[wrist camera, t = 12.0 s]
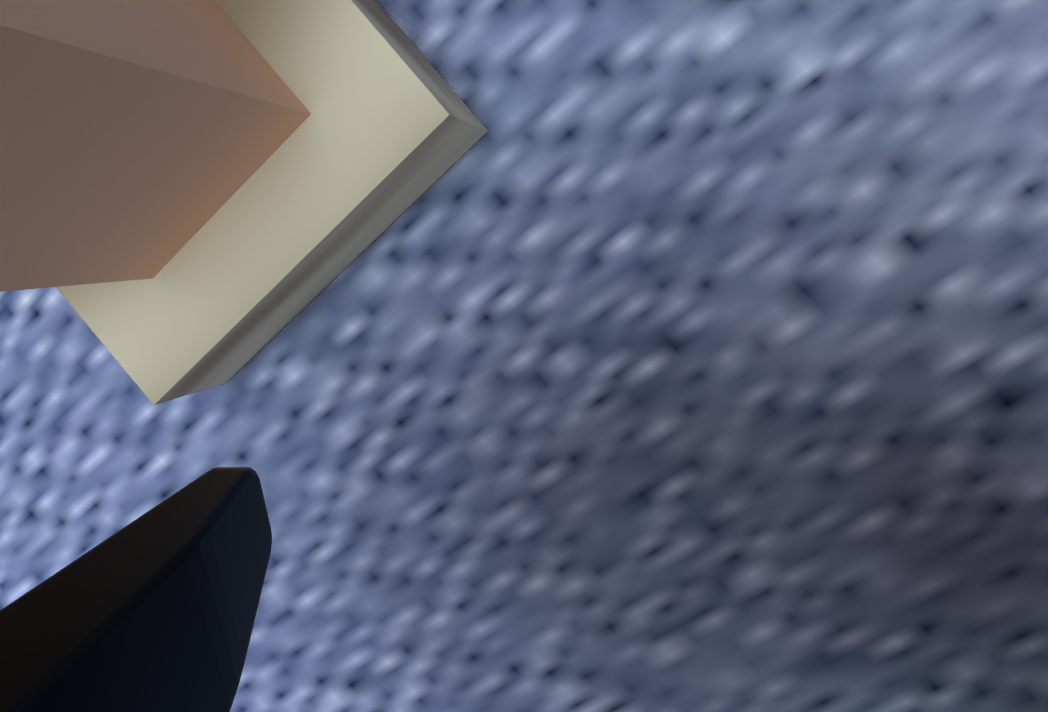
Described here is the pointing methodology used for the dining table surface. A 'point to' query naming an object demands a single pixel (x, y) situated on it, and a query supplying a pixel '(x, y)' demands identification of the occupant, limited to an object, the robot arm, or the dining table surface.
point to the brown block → (124, 133)
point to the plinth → (290, 197)
